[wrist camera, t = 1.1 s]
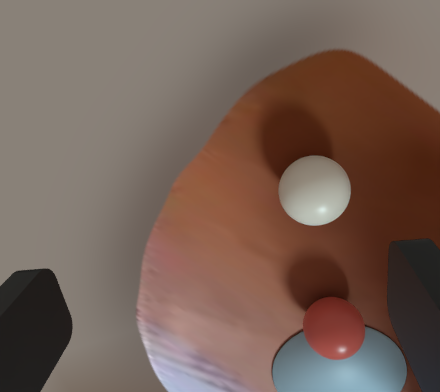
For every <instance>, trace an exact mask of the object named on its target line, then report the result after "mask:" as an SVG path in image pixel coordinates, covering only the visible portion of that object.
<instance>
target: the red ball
mask: <svg viewBox="0 0 440 392" xmlns="http://www.w3.org/2000/svg"><path fill="white" fill-rule="evenodd" d="M303 331H304V335H305V338H306V340H307V342H308V344H309V345H310V347H311V348H312V349H313V350H314V351H315V352H316V353H318V354H319V355H321V356H323V357H325V358H328V359H331V360H342V359H346V358H349V357H351V356H353V355H354V354H355V353H356V352H357V351H358V350H359V349H360V348H361V346H362V344H363V341H364V338H365V325H364V321H363V318H362V316H361V314H360V313H359V311H358V310H357V309H356V308H355V307H354V306H353V305H352V304H351V303H349V302H348V301H346V300H344V299H341V298H337V297H325V298H321V299H319V300H317V301H315V302H314V303H313V304H312V305H311V306H310V307H309V308H308V310H307V311H306V313H305V316H304V320H303Z"/></svg>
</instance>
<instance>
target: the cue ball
mask: <svg viewBox="0 0 440 392" xmlns="http://www.w3.org/2000/svg"><path fill="white" fill-rule="evenodd" d="M350 195H351V186H350V181H349V178H348V176H347V174H346V172H345V171H344V169H343V168H342V167H341V166H340V165H339V164H338V163H337V162H335V161H333V160H332V159H329V158H327V157H324V156H316V155H314V156H306V157H303V158H300V159H298V160H296V161H295V162H293V163H292V164H291V165H289V166H288V168H287V169H286V170H285V171H284V173H283V175H282V177H281V179H280V183H279V199H280V202H281V205H282V207H283V208H284V210H285V211H286V213H287V214H288V215H289V216H290V217H291V218H293V219H294V220H296V221H297V222H300V223H302V224H305V225H311V226H318V225H324V224H327V223H330V222H332V221H333V220H335V219H336V218H338V217H339V216H340V215H341V214H342V213H343V212H344V210H345V209H346V207H347V205H348V203H349V200H350Z"/></svg>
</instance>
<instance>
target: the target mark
mask: <svg viewBox="0 0 440 392" xmlns="http://www.w3.org/2000/svg"><path fill="white" fill-rule="evenodd" d="M272 373H273V381H274V385H275V387H276V389H277V391H278V392H400V391H401V390H402V388H403V386H404V384H405V380H406V375H407V366H406V362H405V358H404V356H403V354H402V352H401V350H400V349H399V347H398V346H397V345H396V344H395V343H394V342H393V341H392V340H391V339H390V338H388V337H387V336H386V335H384V334H382V333H381V332H379V331H377V330H374V329H372V328H369V327H366V326H365V338H364V341H363V344H362V346H361V348H360V349H359V350H358V351H357V352H356V353H355V354H354V355H353V356H351V357H349V358H346V359H342V360H331V359H328V358H325V357H323V356H321V355H319V354H318V353H316V352H315V351H314V350H313V349H312V348H311V347H310V345H309V344H308V342H307V340H306V338H305V335H304V331H303V332H300V333H299V334H297V335H295V336H294V337H292V338H291V339H290V340H289V341H287V342H286V343H285V344H284V345H283V346H282V348H281V349H280V350H279V352H278V353H277V355H276V358H275V360H274V363H273V370H272Z"/></svg>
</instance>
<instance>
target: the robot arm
mask: <svg viewBox="0 0 440 392" xmlns="http://www.w3.org/2000/svg"><path fill="white" fill-rule="evenodd" d="M387 304H388V311H389V316H390V320H391V323H392V326H393V329H394V331H395V333H396V335H397V337H398V340H399V342H400V344H401V346H402V348H403V351H404V353H405V355H406V357H407V359H408V362H409V364H410V366H411V368H412V370H413V373H414V375H415V377H416V379H417V381H418V384H419V386H420V388H421V390H422V392H440V250H439V249H438V247H437V246H436V245H435V244H434V242H433V241H432V240H430V239H428V238H427V239H415V240H402V241H392V242H391V243H390V246H389V255H388V286H387ZM71 335H72V318H71V315H70V312H69V310H68V307H67V305H66V302H65V299H64V297H63V294H62V292H61V289H60V287H59V284H58V281H57V279H56V276H55V274H54V273H53V272H52V271H51V270H50V269H34V270H22V271H16V272H14V273H13V274H12V275H11V276H10V277H9V278H8V279H7V280H6V281H5V282H4V283H3V284H2V285H1V286H0V392H40V391H41V390H42V388H43V386H44V384H45V383H46V381H47V379H48V378H49V376H50V374H51V372H52V371H53V369H54V367H55V366H56V364H57V362H58V361H59V359H60V357H61V355H62V354H63V352H64V350H65V349H66V347H67V345H68V343H69V341H70V338H71Z"/></svg>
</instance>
